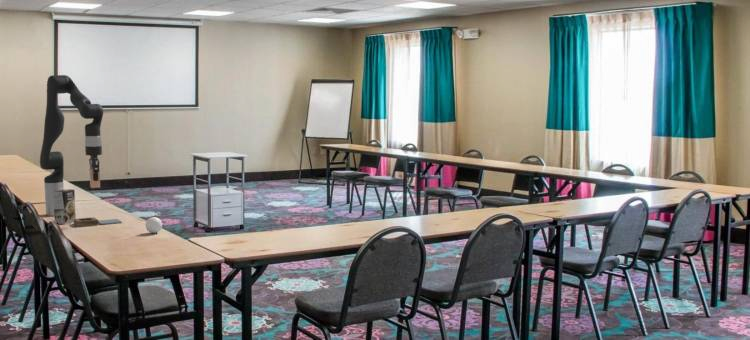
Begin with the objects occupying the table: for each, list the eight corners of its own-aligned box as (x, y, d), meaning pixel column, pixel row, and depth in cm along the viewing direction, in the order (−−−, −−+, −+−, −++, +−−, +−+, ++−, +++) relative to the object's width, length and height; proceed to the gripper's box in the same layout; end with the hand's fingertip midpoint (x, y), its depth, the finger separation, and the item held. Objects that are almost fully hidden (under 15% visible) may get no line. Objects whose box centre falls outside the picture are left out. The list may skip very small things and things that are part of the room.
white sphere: (165, 232, 365) (165, 217, 364) (151, 235, 359) (150, 219, 359) (153, 230, 372) (153, 214, 371) (139, 232, 366) (139, 216, 365)
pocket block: (73, 224, 390) (73, 219, 390) (94, 222, 395) (93, 217, 395) (77, 226, 382) (77, 221, 382) (98, 225, 387) (98, 219, 387)
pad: (96, 221, 396) (96, 220, 396) (117, 220, 401) (117, 218, 401) (101, 224, 387) (100, 223, 387) (122, 222, 393) (121, 221, 392)
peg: (90, 187, 390) (89, 168, 389) (98, 186, 392) (97, 168, 391) (91, 188, 386) (90, 169, 385) (100, 187, 388) (99, 169, 387)
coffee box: (66, 224, 390) (64, 191, 389) (54, 223, 392) (52, 191, 390) (76, 221, 399) (75, 189, 397) (64, 220, 400) (63, 188, 399)
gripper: (82, 144, 391) (84, 179, 393) (87, 146, 379) (89, 182, 381) (98, 144, 395) (100, 178, 397) (104, 145, 383) (105, 181, 384)
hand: (95, 180), depth 389 cm, fingers closed on peg, 4 cm apart
